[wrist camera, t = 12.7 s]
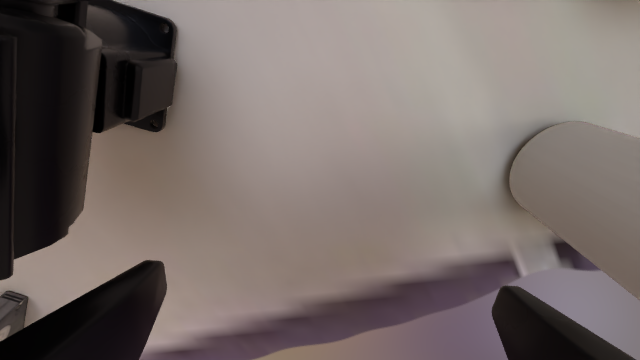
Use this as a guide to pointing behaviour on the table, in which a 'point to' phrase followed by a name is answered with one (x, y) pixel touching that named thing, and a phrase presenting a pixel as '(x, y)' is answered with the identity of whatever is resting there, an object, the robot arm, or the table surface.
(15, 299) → the mini dv tape
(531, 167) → the beverage can
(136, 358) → the robot arm
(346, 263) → the table surface
